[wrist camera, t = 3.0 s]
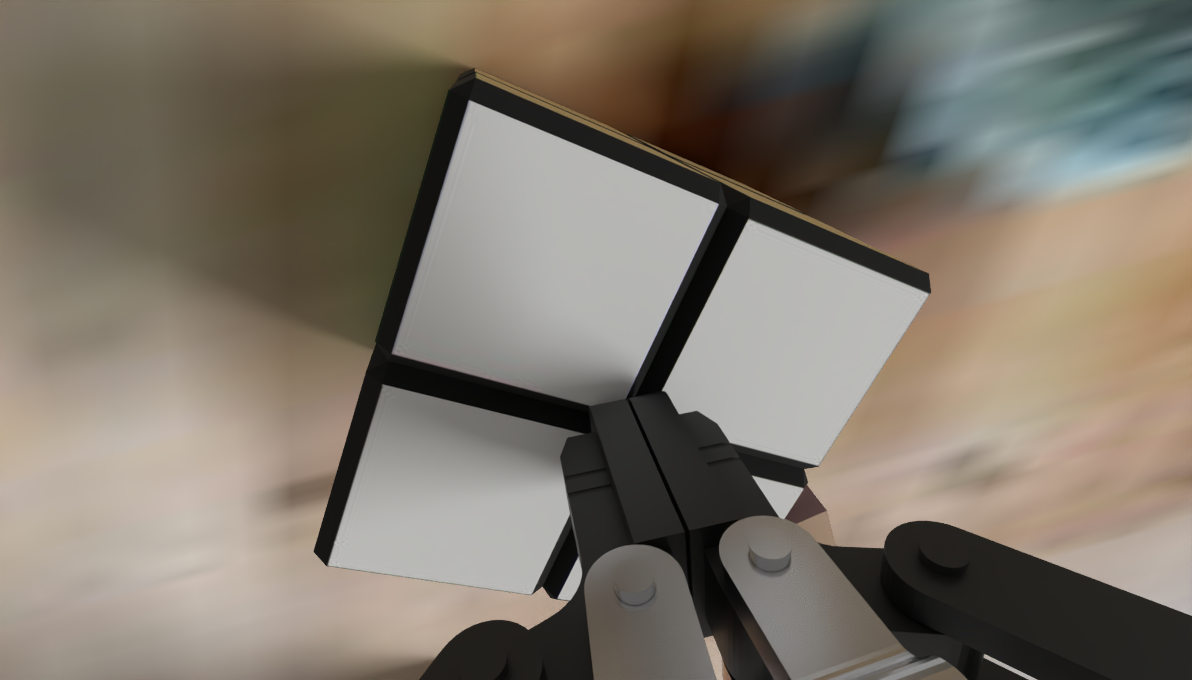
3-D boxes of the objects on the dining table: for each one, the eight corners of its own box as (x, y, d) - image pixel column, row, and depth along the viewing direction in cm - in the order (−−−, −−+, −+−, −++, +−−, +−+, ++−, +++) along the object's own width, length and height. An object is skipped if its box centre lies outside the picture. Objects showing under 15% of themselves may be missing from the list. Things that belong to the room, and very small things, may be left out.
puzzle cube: (631, 418, 24) (723, 633, 15) (378, 353, 21) (305, 577, 12) (745, 184, 20) (953, 282, 11) (464, 62, 17) (451, 67, 8)
